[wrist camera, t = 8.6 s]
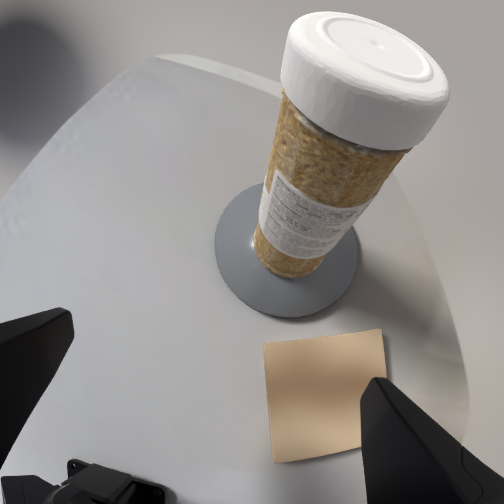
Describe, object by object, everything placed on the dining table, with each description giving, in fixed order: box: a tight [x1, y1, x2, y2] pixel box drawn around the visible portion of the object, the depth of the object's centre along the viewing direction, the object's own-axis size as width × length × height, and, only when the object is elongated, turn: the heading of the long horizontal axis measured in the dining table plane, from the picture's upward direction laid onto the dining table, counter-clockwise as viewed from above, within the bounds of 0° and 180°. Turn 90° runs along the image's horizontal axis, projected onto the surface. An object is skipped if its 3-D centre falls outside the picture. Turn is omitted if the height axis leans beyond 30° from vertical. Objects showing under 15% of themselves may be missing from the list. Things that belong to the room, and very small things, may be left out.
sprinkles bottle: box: [253, 12, 450, 278], centre depth 12 cm, size 5×5×13 cm
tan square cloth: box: [263, 328, 387, 463], centre depth 15 cm, size 7×7×1 cm
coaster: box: [215, 183, 358, 318], centre depth 18 cm, size 9×9×1 cm
